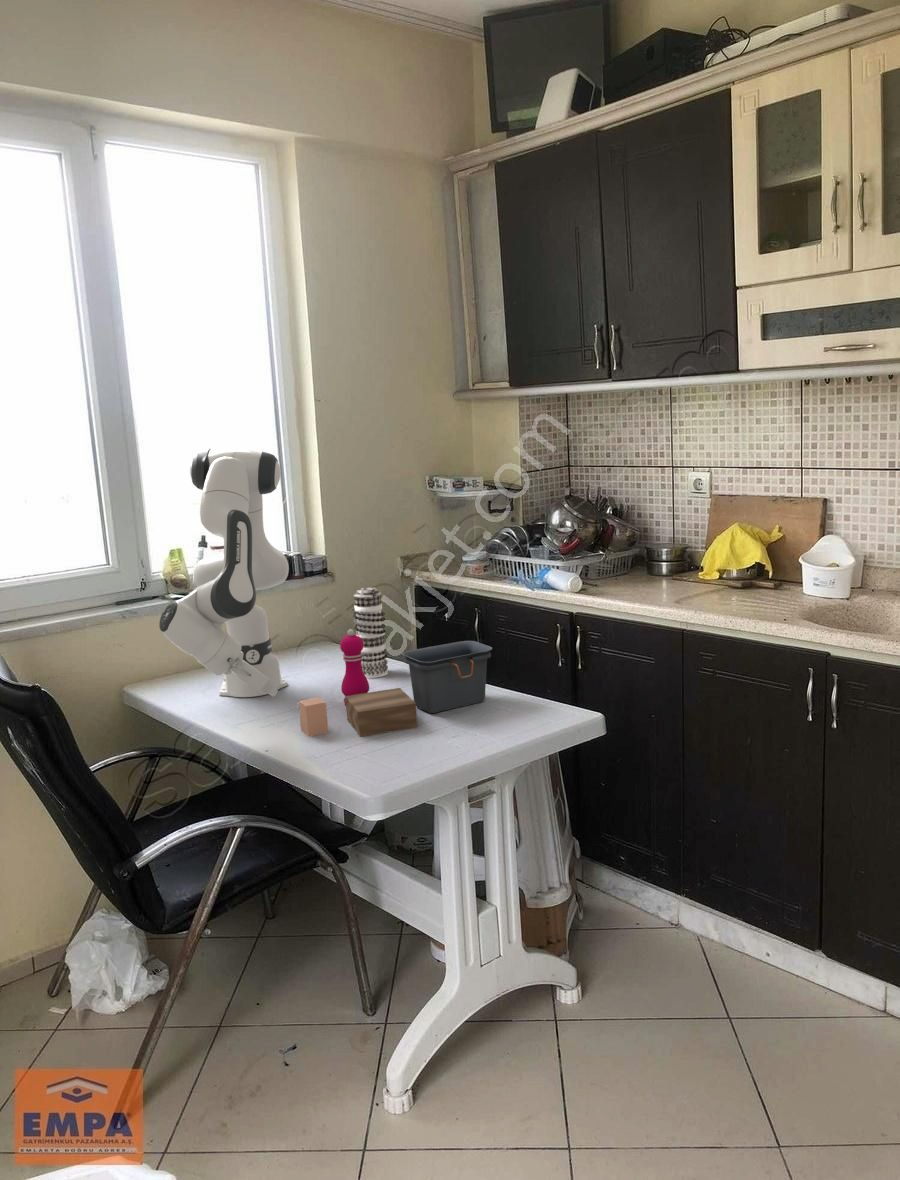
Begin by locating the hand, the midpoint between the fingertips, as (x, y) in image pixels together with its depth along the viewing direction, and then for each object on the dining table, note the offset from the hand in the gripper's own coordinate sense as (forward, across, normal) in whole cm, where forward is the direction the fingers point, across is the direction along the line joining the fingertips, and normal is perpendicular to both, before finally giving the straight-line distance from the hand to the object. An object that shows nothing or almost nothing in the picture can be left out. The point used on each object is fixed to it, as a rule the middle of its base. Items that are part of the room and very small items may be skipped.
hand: (268, 688), depth 221 cm
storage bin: (+42, -3, -24) cm, 48 cm away
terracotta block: (+16, 0, +2) cm, 16 cm away
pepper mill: (+28, +13, -10) cm, 33 cm away
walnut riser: (+27, -5, -9) cm, 29 cm away
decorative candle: (+39, +37, -21) cm, 58 cm away
